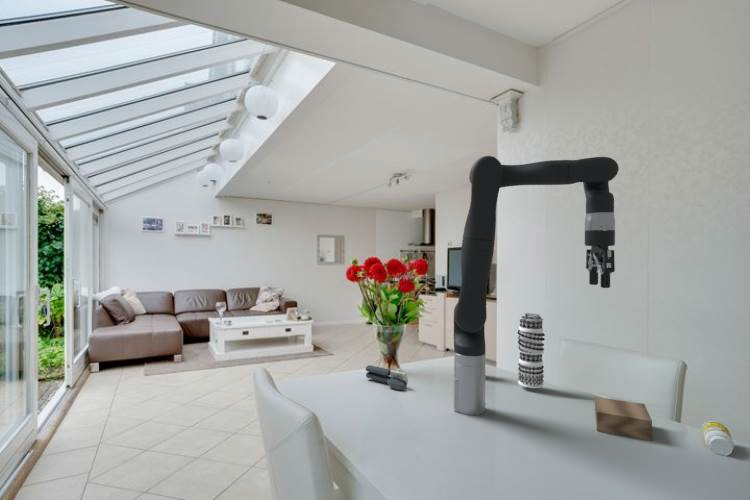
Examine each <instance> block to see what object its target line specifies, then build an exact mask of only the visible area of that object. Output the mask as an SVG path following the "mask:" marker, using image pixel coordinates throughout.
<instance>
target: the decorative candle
mask: <svg viewBox="0 0 750 500" xmlns="http://www.w3.org/2000/svg"><path fill="white" fill-rule="evenodd" d="M518 319H519V328H518V330H517V332H516V334H518V335H517V340H518V341H517V344H518V346H517V347H518V348H517V349H518V352H519V359H518V361H519V362H518V365H517V366H518V367H517V369H518V373H517V376H518V377H517V379H518V381H517V382H518V384H519V385H520V386H522V387H525V388H529V389H541V388H543V387H544V381H545V380H544V376H545V375H544V372H545V370H544V368H545V367H544V361H543V354H544V352H545V351H544V350H545V348H544V346H545V344H544V343H543V341H545V340H546V339H545V336H546V334H545V333H544V332H543V331H544V328H543V321H544V319H543V318H542V317H541V315H539V314H537V313H532V312H531V313H529V312H525V313H523V314H522V315H521V316H520V317H518Z"/></svg>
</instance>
